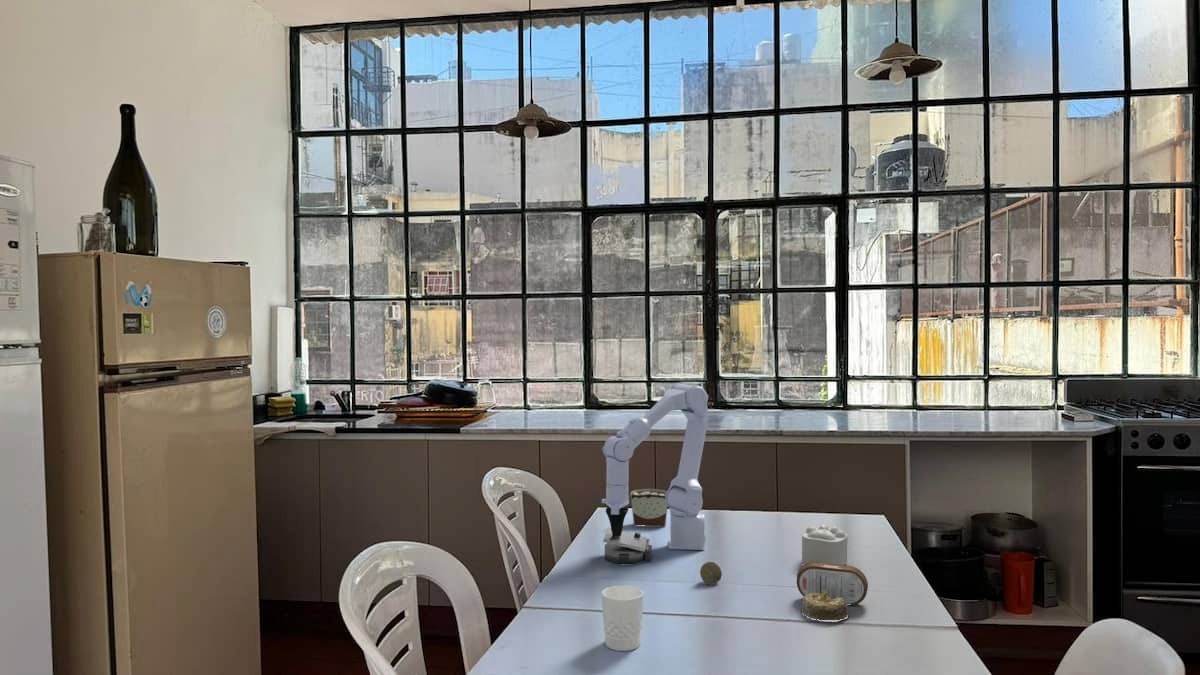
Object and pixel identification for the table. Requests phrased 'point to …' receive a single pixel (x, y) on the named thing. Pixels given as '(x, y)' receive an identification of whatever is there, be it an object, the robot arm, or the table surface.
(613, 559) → the pot
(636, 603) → the white cup
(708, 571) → the lime
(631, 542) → the lid
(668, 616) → the table surface
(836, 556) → the lumpy-topped squat cylinder
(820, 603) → the cake
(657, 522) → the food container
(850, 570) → the tin
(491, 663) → the table surface
